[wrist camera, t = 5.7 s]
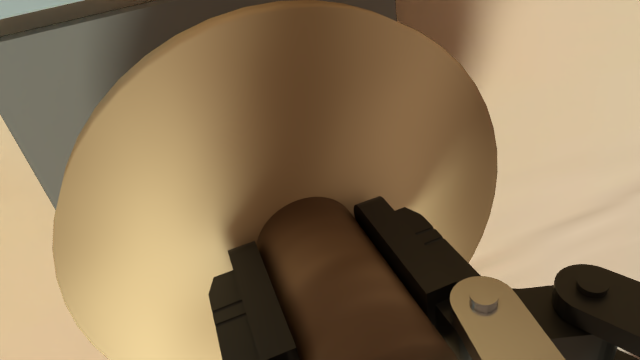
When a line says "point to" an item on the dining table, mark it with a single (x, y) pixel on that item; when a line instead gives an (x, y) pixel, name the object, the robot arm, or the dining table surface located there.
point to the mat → (92, 71)
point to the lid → (271, 182)
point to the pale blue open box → (28, 6)
